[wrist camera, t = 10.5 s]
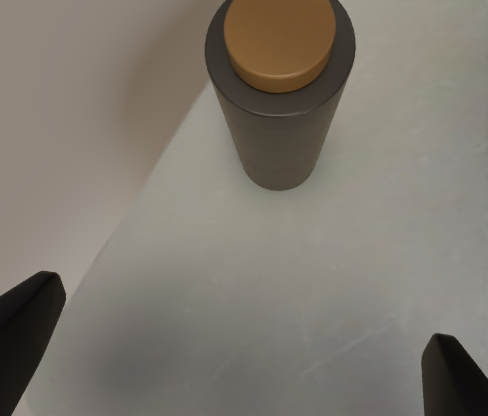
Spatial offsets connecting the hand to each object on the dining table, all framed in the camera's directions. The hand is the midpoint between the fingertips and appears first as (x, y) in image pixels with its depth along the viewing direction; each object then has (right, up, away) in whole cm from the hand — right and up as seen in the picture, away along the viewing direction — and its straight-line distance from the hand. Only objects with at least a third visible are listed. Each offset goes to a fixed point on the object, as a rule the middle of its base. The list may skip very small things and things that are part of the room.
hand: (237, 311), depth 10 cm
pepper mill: (+2, +6, +14) cm, 15 cm away
